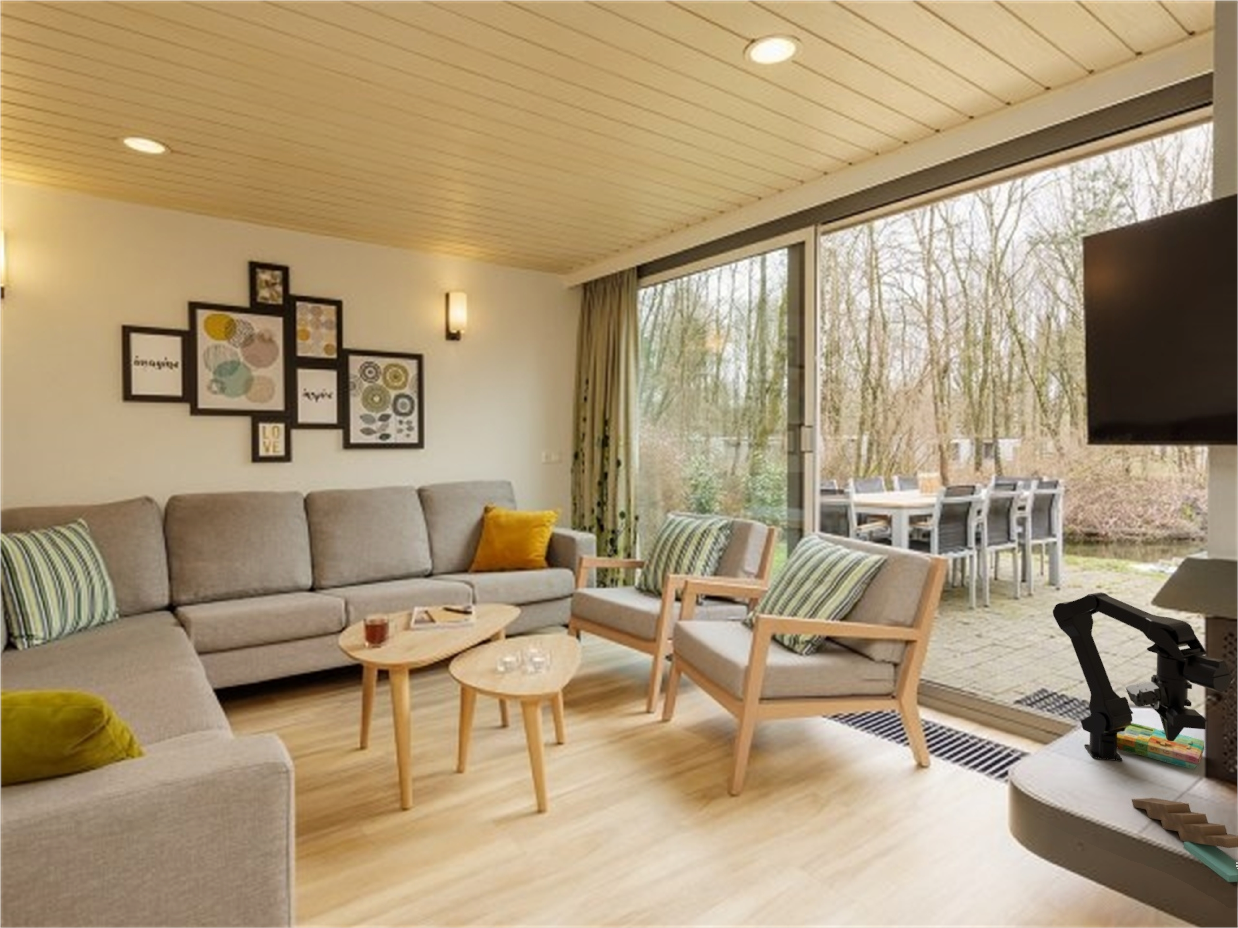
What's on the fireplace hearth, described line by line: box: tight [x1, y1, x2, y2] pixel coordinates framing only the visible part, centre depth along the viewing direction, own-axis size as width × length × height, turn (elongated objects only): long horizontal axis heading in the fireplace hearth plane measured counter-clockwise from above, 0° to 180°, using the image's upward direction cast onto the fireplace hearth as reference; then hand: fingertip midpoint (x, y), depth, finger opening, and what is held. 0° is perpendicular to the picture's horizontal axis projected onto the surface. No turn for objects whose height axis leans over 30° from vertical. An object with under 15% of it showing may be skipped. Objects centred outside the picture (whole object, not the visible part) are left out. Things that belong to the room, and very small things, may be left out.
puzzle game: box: [1117, 722, 1205, 770], centre depth 177 cm, size 12×5×20 cm
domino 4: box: [1177, 831, 1238, 849], centre depth 137 cm, size 2×5×10 cm
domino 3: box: [1160, 820, 1228, 836], centre depth 141 cm, size 2×5×10 cm
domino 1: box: [1131, 797, 1192, 813], centre depth 149 cm, size 2×5×10 cm
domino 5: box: [1183, 841, 1238, 883], centre depth 134 cm, size 2×5×10 cm
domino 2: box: [1145, 809, 1209, 824], centre depth 145 cm, size 2×5×10 cm
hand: (1170, 740), depth 160 cm, fingers closed
